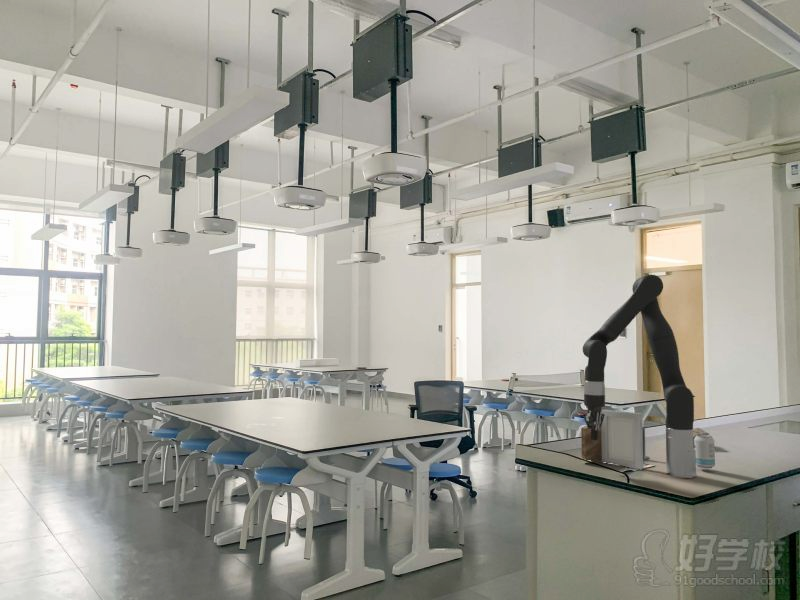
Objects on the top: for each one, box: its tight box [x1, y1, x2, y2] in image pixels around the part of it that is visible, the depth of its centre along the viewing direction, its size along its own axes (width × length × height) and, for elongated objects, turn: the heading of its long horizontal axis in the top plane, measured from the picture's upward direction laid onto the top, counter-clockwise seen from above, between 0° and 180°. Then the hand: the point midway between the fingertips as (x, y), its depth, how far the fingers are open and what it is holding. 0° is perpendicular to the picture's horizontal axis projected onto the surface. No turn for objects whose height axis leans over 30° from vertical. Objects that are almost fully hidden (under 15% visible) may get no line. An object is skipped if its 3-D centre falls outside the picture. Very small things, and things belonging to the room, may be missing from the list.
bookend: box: [643, 426, 650, 461], centre depth 250 cm, size 12×6×13 cm, turn 48°
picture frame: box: [601, 409, 644, 471], centre depth 233 cm, size 16×3×21 cm, turn 44°
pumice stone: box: [693, 427, 710, 446], centre depth 277 cm, size 14×12×8 cm
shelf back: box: [580, 426, 602, 462], centre depth 245 cm, size 2×28×14 cm, turn 138°
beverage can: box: [694, 434, 716, 469], centre depth 231 cm, size 7×7×12 cm
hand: (594, 440), depth 225 cm, fingers closed
